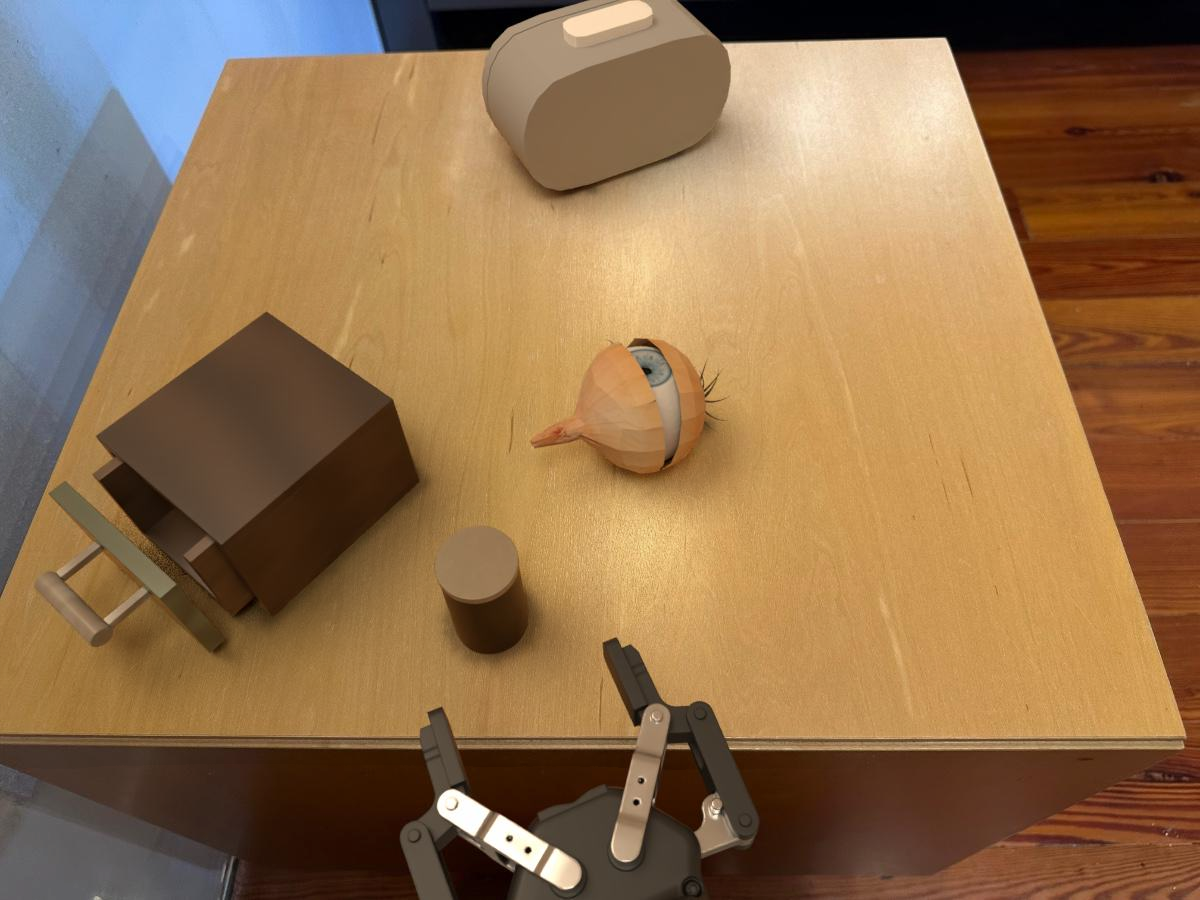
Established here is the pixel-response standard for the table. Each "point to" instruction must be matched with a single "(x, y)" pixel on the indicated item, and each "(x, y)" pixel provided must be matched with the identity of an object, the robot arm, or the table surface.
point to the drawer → (142, 560)
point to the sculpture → (637, 407)
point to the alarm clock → (604, 88)
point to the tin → (483, 588)
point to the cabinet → (270, 455)
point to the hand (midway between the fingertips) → (524, 679)
